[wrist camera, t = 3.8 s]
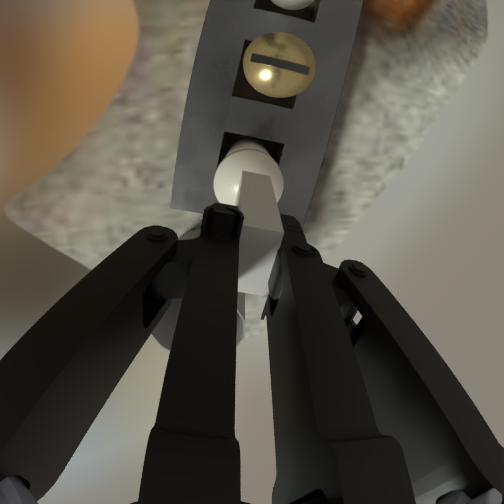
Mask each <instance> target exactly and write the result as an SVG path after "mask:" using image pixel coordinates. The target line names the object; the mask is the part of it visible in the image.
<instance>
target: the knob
mask: <svg viewBox="0 0 504 504" xmlns="http://www.w3.org/2000/svg"><path fill="white" fill-rule="evenodd" d="M242 170H243V171H248V172H253V173H258V174H263V175H268V176H270V177H271V181H272V185H273V189H274V193H275V197H276V201H277V203H278V201H279V199H280V197H281V195H282V192H283V185H284V183H283V176H282V173H281V171H280V168H279V166H278V164H277V163H276V162H275V160H274V159H273V158H272V157H271V156H270V155H269V152H268V150H267V148H266V147H265V146H264V145H263V144H262V143H261V142H259V141H258V140H255V139H251V138H245V139H241V140H238V141H236V142H235V143H233V144H232V145H231V146H230V148H229V149H228V151H227V154H226V157H225V158H224V159H223V160H222V162H221V163H220V164H219V166H218V168H217V171H216V173H215V177H214V192H215V195H216V198H217V200H218V201H219V203H223V204H228V205H234V206H235V203H236V198H237V193H238V188H239V184H240V179H241V175H242Z"/></svg>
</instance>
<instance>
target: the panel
mask: <svg viewBox="0 0 504 504" xmlns="http://www.w3.org/2000/svg"><path fill="white" fill-rule="evenodd" d="M256 2H257V0H210V3H209V6H208V10H207V13H206V17H205V21H204V24H203V28H202V32H201V36H200V40H199V44H198V48H197V53H196V57H195V61H194V66H193V70H192V75H191V80H190V84H189V89H188V94H187V99H186V105H185V110H184V116H183V121H182V127H181V133H180V139H179V146H178V152H177V159H176V166H175V173H174V181H173V189H172V197H171V206H170V208H173V209H179V210H185V211H191V212H197V213H202V214H203V213H204V209H205V208H206V207H207V206H210V205H212V204H214V203H215V202H217V203H219V201H218V200H217V198H216V195H215V192H214V177H215V173H216V171H217V168H218V166H219V162H220V157H221V151H222V146H223V141H224V137H225V132H230V133H236V134H241V135H246V136H251V137H256V138H260V139H265V140H270V141H274V142H278V143H279V146H278V150H277V154H276V158H275V162H276V163H277V164H278V166H279V168H280V171H281V173H282V176H283V183H284V185H283V192H282V195H281V197H280V199H279V201H278V203H277V205H278V209H279V213H280V214H284V215H289V216H294V217H295V218H296V219H297V220H298V221H299V222H300V224H301V227H303V224H304V221H305V217H306V214H307V211H308V208H309V204H310V201H311V198H312V195H313V191H314V188H315V185H316V181H317V178H318V175H319V171H320V168H321V164H322V161H323V158H324V154H325V151H326V147H327V144H328V140H329V136H330V133H331V129H332V126H333V122H334V118H335V115H336V111H337V107H338V103H339V100H340V96H341V92H342V88H343V84H344V80H345V77H346V73H347V69H348V65H349V61H350V56H351V52H352V48H353V44H354V40H355V35H356V31H357V27H358V22H359V18H360V13H361V9H362V4H363V0H315V3H314V7H313V11H312V15H311V19H310V21H307V20H303V19H299V18H296V17H292V16H288V15H283V14H279V13H275V12H270V11H265V10H260V9H255V6H256ZM271 32H284V33H289V34H292V35H294V36H297V37H298V38H300V39H301V40H303V41H304V42H305V43H306V44H307V45H308V46H309V48H310V49H311V51H312V53H313V55H314V58H315V64H316V69H315V74H314V77H313V79H312V81H311V83H310V84H309V85H308V87H307V88H306V89H304V90H303V91H302V92H300V93H298V94H296V95H294V96H291V99H290V103H289V107H288V108H286V107H282V106H278V105H273V104H269V103H265V102H260V101H255V100H250V99H245V98H240V97H235V96H233V94H234V90H235V86H236V81H237V77H238V73H239V68H240V64H241V60H242V56H243V52H244V48H245V46H249V45H250V44H251V43H252V42H253V41H254V40H255V39H256V38H258V37H260V36H262V35H264V34H267V33H271Z"/></svg>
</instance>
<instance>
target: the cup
mask: <svg viewBox="0 0 504 504" xmlns="http://www.w3.org/2000/svg"><path fill="white" fill-rule="evenodd" d="M200 232H201V229H197V230H192V231H187V232H186V233H185V234H184V235H182V236H181V237H180V238H178V240H188V239H194V238H196V237H198V236H200ZM182 299H183V298H180V299H173V300H172V303H171V305H170V307H169V308H168V310H167V311H166V313H165V314H164V315H163V317H162V318H161V320H160V321H159V323H158V324H157V326H156V327H155V328H154V330H153V331H152V333H151V334H150V335H151V336H152V337H153V338H154V339H155V340H156V341H157V343H158V344H159V345H160V346H161V347H163V348H164V349H166V350H168V351H170V350H171V345H172V341H173V337H174V332H175V328H176V324H177V320H178V316H179V312H180V307H181V303H182ZM244 337H245V293H243V292H238V300H237V335H236V348H237V347H238V345H239V344H240V343H241V341H242V340H243V339H244Z"/></svg>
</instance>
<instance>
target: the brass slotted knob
mask: <svg viewBox="0 0 504 504" xmlns="http://www.w3.org/2000/svg"><path fill="white" fill-rule="evenodd" d="M243 69H244V74H245V77H246V79H247V81H248V82H249V84H250V85H251V86H252V87H253V88H254V89H255V90H257V91H258V92H260V93H262V94H264V95H266V96H270V97H278V98H283V97H290V96H294V95H296V94H298V93H300V92H302V91H303V90H304V89H306V88H307V87H308V85H309V84H310V83H311V81H312V79H313V77H314V74H315V69H316V64H315V58H314V55H313V53H312V51H311V49H310V48H309V46H308V45H307V44H306V43H305V42H304V41H303V40H301V39H300V38H298V37H297V36H294V35H292V34H289V33H284V32H271V33H267V34H264V35H262V36H260V37H258V38H256V39H255V40H254V41H253V42H252V43H251V44H250V45H249V46H248V48H247V50H246V52H245V54H244V58H243Z"/></svg>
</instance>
